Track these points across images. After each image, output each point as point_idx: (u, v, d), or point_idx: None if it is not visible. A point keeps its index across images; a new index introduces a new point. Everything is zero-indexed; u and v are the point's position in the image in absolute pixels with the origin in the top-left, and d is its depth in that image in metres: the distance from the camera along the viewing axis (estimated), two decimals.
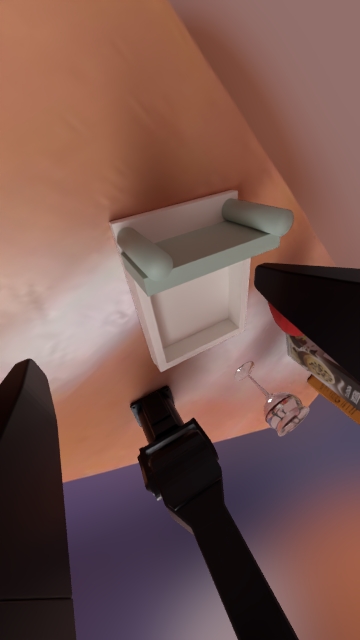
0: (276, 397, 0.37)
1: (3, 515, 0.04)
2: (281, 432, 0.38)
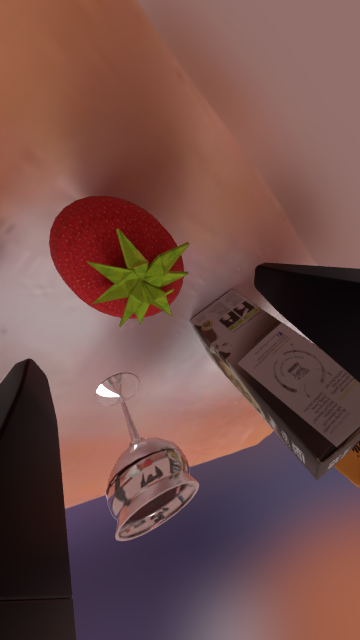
0: (128, 454, 0.17)
1: (3, 515, 0.04)
2: (144, 525, 0.18)
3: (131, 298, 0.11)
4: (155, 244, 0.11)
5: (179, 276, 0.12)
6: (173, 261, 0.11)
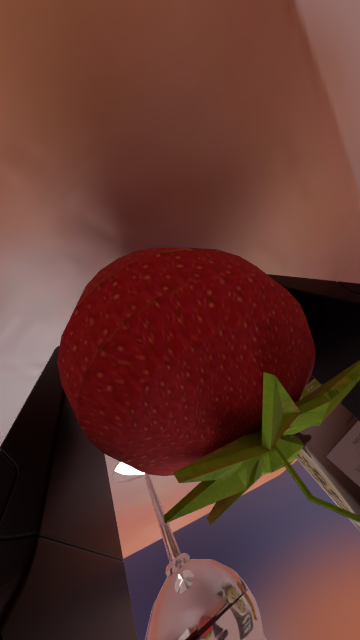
0: (174, 613, 0.11)
1: (72, 475, 0.04)
2: None
3: (246, 483, 0.05)
4: (300, 355, 0.05)
5: None
6: (342, 394, 0.05)
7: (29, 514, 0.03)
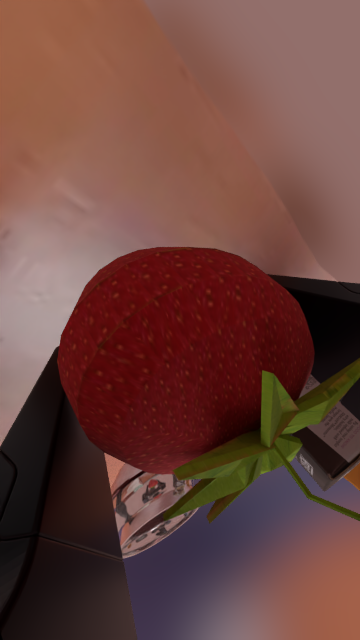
0: (129, 466, 0.17)
1: (72, 475, 0.04)
2: (147, 540, 0.17)
3: (245, 481, 0.05)
4: (299, 354, 0.05)
5: None
6: (341, 393, 0.05)
7: (29, 514, 0.03)
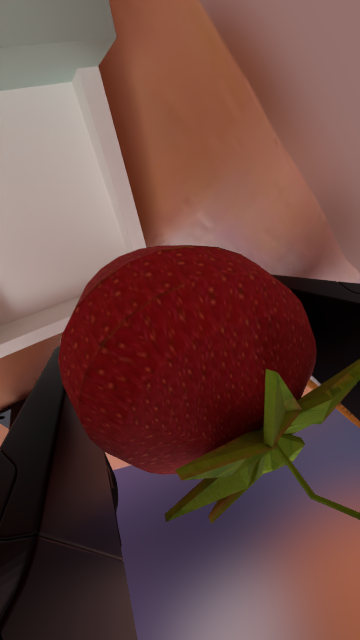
0: None
1: (72, 475, 0.04)
2: None
3: (247, 481, 0.05)
4: (301, 353, 0.05)
5: None
6: (343, 392, 0.05)
7: (29, 514, 0.03)
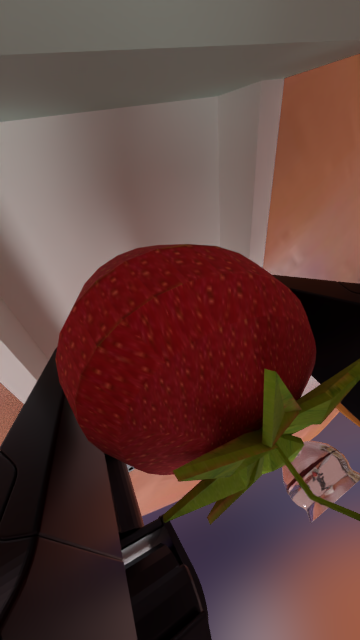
0: (305, 454, 0.22)
1: (72, 475, 0.04)
2: None
3: (246, 482, 0.05)
4: (301, 352, 0.05)
5: None
6: (343, 392, 0.05)
7: (29, 514, 0.03)
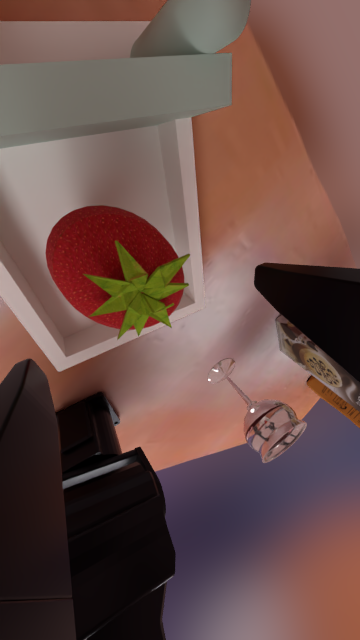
0: (260, 407, 0.26)
1: (3, 515, 0.04)
2: (268, 456, 0.27)
3: (129, 311, 0.10)
4: (155, 255, 0.10)
5: (179, 287, 0.11)
6: (173, 273, 0.10)
7: None
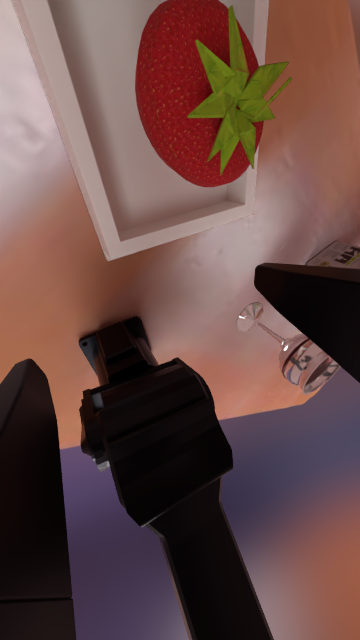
0: (298, 337, 0.25)
1: (3, 515, 0.04)
2: (305, 389, 0.26)
3: (225, 121, 0.10)
4: (251, 63, 0.10)
5: (268, 116, 0.11)
6: (271, 82, 0.10)
7: None
